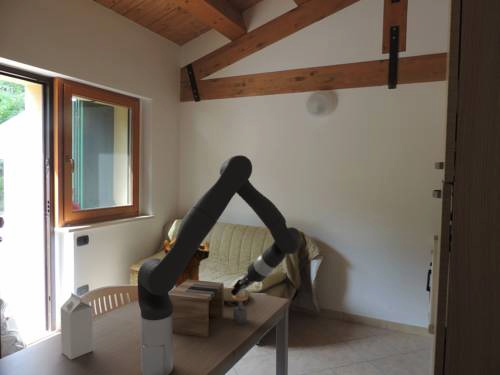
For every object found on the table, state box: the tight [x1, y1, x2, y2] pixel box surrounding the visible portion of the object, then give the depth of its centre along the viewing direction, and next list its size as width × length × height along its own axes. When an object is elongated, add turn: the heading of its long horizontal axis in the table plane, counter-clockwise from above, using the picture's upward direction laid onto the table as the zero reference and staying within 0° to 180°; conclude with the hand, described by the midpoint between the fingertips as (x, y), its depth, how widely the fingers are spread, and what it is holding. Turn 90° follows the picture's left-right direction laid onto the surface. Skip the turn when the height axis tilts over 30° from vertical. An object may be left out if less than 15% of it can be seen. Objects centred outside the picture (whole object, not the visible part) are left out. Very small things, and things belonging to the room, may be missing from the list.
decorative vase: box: [163, 237, 211, 288], centre depth 161 cm, size 21×23×28 cm
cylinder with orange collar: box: [233, 280, 248, 325], centre depth 135 cm, size 6×6×16 cm
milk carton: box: [60, 292, 94, 361], centre depth 111 cm, size 7×7×19 cm
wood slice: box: [224, 287, 251, 307], centre depth 158 cm, size 16×16×3 cm
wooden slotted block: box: [168, 279, 225, 338], centre depth 133 cm, size 18×16×14 cm
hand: (236, 291), depth 136 cm, fingers closed on cylinder with orange collar, 4 cm apart
